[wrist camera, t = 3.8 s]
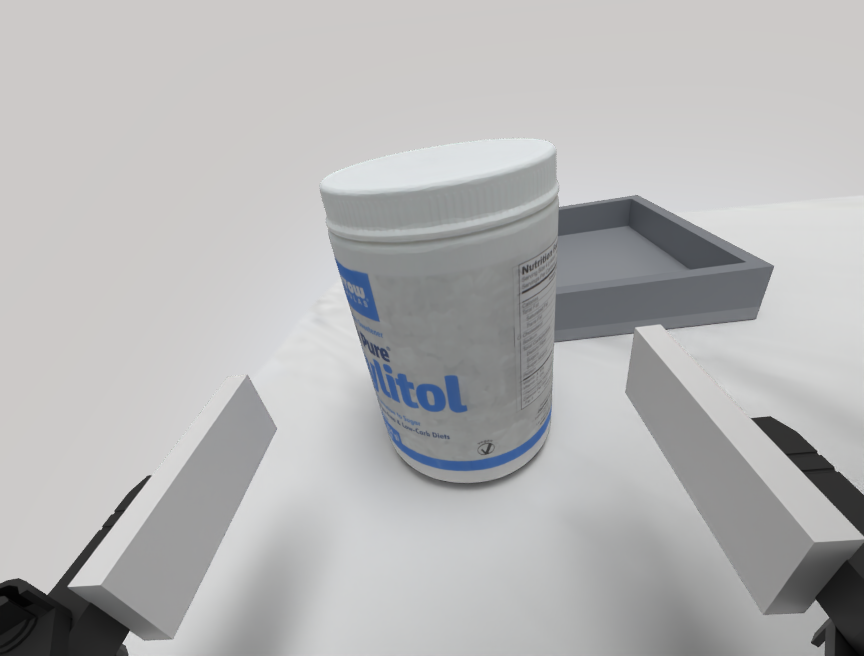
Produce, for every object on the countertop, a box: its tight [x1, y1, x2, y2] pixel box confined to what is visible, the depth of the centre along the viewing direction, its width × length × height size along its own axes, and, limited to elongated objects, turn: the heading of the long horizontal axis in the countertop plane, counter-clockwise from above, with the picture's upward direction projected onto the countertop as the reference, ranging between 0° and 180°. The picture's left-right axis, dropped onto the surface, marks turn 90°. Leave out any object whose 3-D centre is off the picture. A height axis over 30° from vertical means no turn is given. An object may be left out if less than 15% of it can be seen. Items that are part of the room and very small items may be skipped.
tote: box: [554, 195, 774, 342], centre depth 34 cm, size 17×20×4 cm
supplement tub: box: [320, 138, 559, 483], centre depth 18 cm, size 10×10×15 cm
